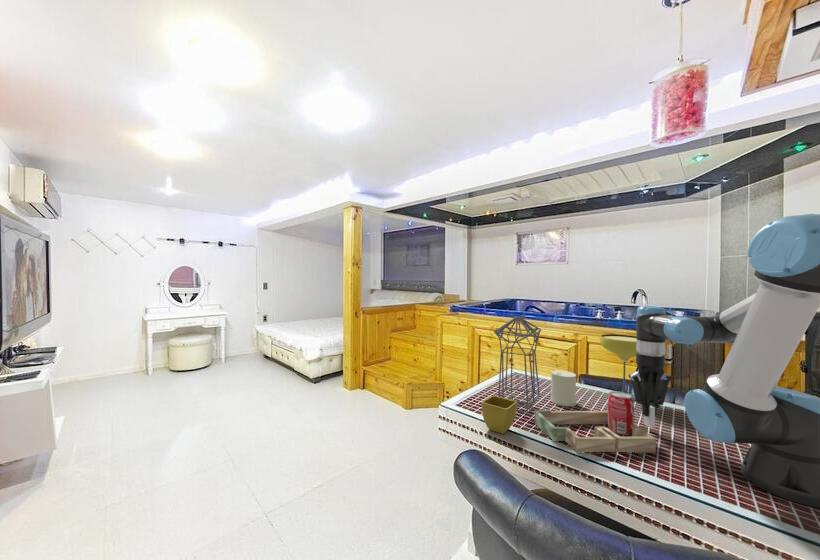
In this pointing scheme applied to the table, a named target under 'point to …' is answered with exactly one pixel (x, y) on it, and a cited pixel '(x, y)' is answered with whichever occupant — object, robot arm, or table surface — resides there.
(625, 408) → the soda can
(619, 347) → the cocktail glass
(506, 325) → the geometric lantern
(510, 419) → the flower pot
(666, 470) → the table surface
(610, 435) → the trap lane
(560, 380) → the can
